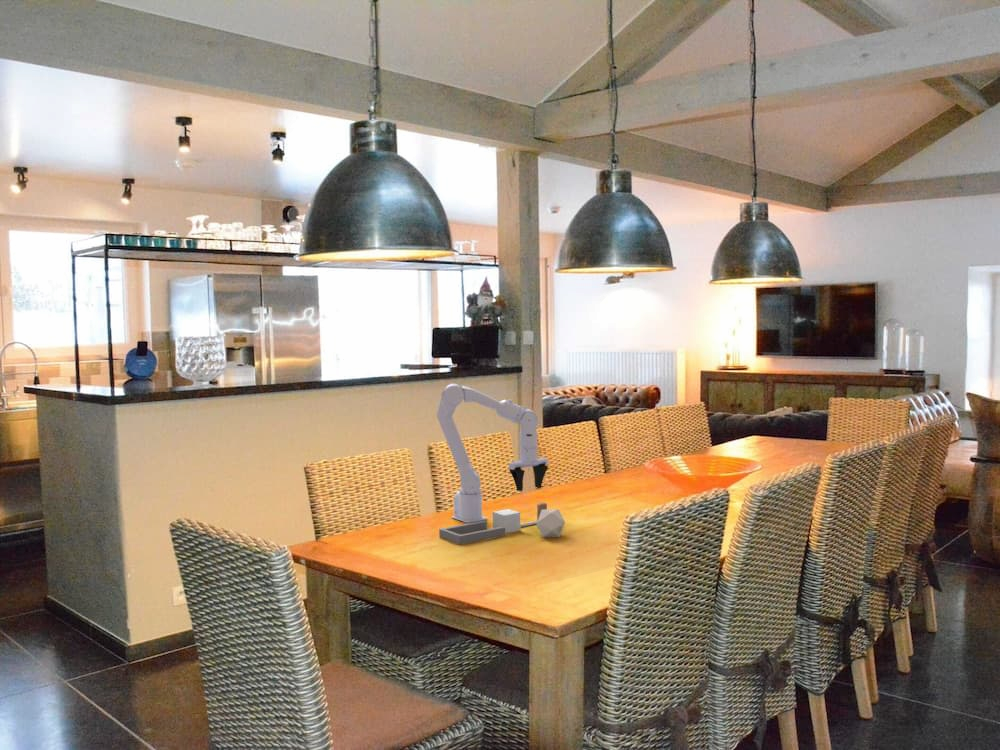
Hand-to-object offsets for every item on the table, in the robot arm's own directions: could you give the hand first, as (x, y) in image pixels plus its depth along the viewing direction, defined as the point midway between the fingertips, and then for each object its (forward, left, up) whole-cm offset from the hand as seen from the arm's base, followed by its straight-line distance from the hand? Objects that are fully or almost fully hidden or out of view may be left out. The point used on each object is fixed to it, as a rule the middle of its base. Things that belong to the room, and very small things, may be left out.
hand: (528, 489), depth 281 cm
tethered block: (+8, -9, -9) cm, 15 cm away
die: (+22, -9, -10) cm, 26 cm away
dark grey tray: (+8, -27, -9) cm, 30 cm away
